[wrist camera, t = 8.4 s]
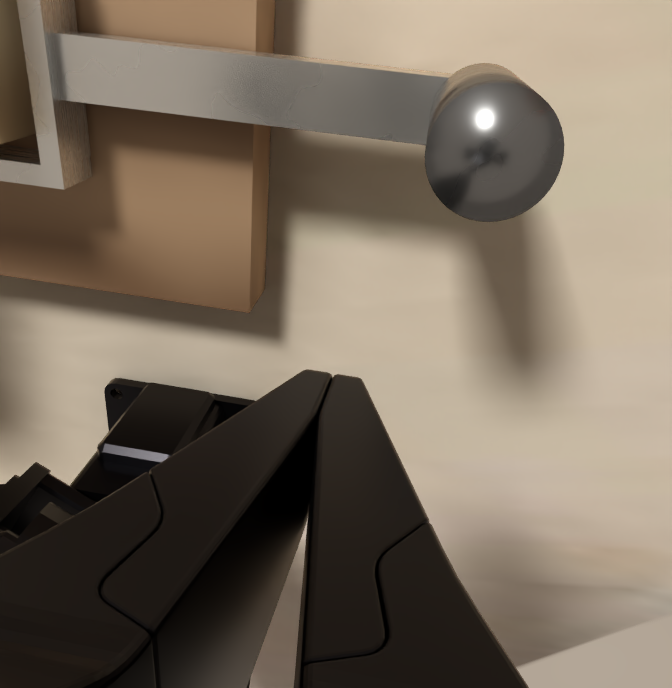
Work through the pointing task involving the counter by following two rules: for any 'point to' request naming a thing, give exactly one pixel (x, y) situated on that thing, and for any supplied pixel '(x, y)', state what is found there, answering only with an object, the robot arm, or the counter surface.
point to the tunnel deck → (155, 180)
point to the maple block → (13, 78)
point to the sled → (288, 108)
